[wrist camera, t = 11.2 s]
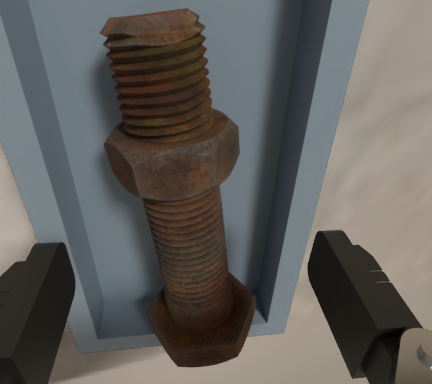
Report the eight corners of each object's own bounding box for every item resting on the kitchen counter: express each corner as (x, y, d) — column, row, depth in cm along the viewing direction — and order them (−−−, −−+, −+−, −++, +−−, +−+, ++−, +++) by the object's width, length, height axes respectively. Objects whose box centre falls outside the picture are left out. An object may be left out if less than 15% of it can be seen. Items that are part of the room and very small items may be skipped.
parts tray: (353, -129, 11) (410, -158, 8) (271, 293, 22) (284, 333, 20) (-50, -161, 9) (-129, -207, 7) (89, 308, 21) (79, 353, 19)
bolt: (173, 3, 13) (210, 269, 21) (41, 22, 11) (139, 312, 19) (280, 2, 9) (274, 331, 17) (105, 31, 7) (195, 396, 15)
